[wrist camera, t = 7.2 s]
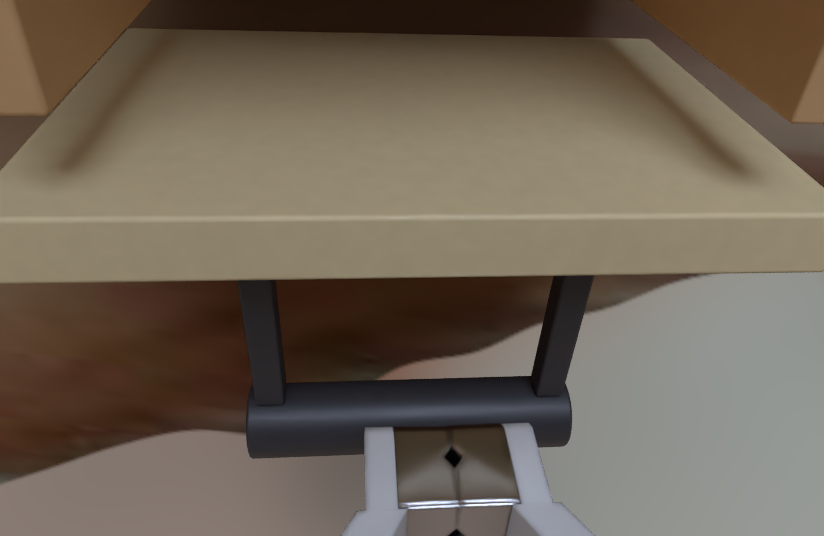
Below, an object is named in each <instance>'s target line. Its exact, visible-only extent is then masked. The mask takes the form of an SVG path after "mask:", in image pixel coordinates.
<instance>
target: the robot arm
mask: <svg viewBox="0 0 824 536" xmlns="http://www.w3.org/2000/svg"><path fill="white" fill-rule="evenodd" d="M364 455H365V510H361V511H356V513H355V514H354V516H353V518H352V519H351V520H350V522H349V523H348V525H347V526H346V528H345V530H344V531H343V533H342V534H341V536H595V535H594V534H593V533H592V532H591V531H590V530H589V529H588V528H587V527H586V526H585V525H584V524H583V523H582V522H581V521H580V520H579V519H578V518H577V517H576V516H575V515H574V514H573V513H571V511H570V510H569V509H568V508H566V506H565V505H563V504H562V503H553V499H552V496H551V492H550V489H549V485H548V482H547V478H546V474H545V471H544V467H543V464H542V460H541V457H540V453H539V449H538V446H537V442H536V438H535V435H534V431H533V428H532V426H531V425H530V424H529V423H505V424H500V423H488V424H466V425H447V426H443V427H365V433H364Z"/></svg>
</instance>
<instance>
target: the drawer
mask: <svg viewBox="0 0 824 536" xmlns="http://www.w3.org/2000/svg"><path fill="white" fill-rule="evenodd" d="M631 1H632V2H633V3H635V4H636V5H637V6H639V7H640V8H641V9H643V10H644V11H645V12H647V13H648V14H649V15H650V16H652V17H653V18H654V19H656V20H657V21H658V22H660V23H661V24H662V25H664V26H665V27H666V28H667V29H669V30H670V31H671V32H673V33H674V34H675V35H677V36H678V37H679V38H681V39H682V40H683V41H684V42H686V43H687V44H688V45H690V46H691V47H692V48H694V49H695V50H696V51H698V52H699V53H700V54H701V55H703V56H704V57H705V58H707V59H708V60H709V61H711V62H712V63H713V64H715V65H716V66H717V67H718V68H720V69H721V70H722V71H724V72H725V73H726V74H728V75H729V76H730V77H731V78H733V79H734V80H735V81H737V82H738V83H739V84H741V85H742V86H743V87H745V88H746V89H747V90H748V91H750V92H751V93H752V94H754V95H755V96H756V97H758V98H759V99H760V100H762V101H763V102H764V103H765V104H767V105H768V106H769V107H771V108H772V109H773V110H775V111H776V112H777V113H779V114H780V115H781V116H782V117H784V118H785V119H786V120H788V121H789V122H790V123H806V124H824V0H631ZM150 2H151V0H0V116H45V115H47V114H49V113H50V112H51V111H52V110H53V109H54V108H55V107H56V105H57V104H58V103H59V102H60V101H61V100H62V99H63V98H64V97H65V96H66V94H67V93H68V92H69V91H70V90H71V89H72V88H73V87H74V86H75V84H76V83H77V82H78V81H79V80H80V79H81V78H82V77H83V76H84V75H85V73H86V72H87V71H88V70H89V69H90V68H91V67H92V66H93V65H94V63H95V62H96V61H97V60H98V59H99V58H100V57H101V56H102V55H103V54H104V52H105V51H106V50H107V49H108V48H109V47H110V46H111V45H112V44H113V42H114V41H115V40H116V39H117V38H118V37H119V36H120V35H121V34H122V33H123V31H124V30H125V29H126V28H127V27H128V26H129V25H130V24H131V23H132V21H133V20H134V19H135V18H136V17H137V16H138V15H139V14H140V13H141V12H142V10H143V9H144V8H145V7H146V6H147V5H148V4H149V3H150ZM822 271H824V188H823V187H822V186H821V185H820V184H819V183H817V182H816V181H815V180H814V179H813V178H811V177H810V176H809V175H808V174H807V173H806V172H804V171H803V170H802V169H801V168H800V167H798V166H797V165H796V164H795V163H794V162H793V161H791V160H790V159H789V158H788V157H787V156H786V155H784V154H783V153H782V152H781V151H780V150H778V149H777V148H776V147H775V146H774V145H773V144H771V143H770V142H769V141H768V140H767V139H766V138H764V137H763V136H762V135H761V134H760V133H758V132H757V131H756V130H755V129H754V128H753V127H751V126H750V125H749V124H748V123H747V122H745V121H744V120H743V119H742V118H741V117H740V116H738V115H737V114H736V113H735V112H734V111H733V110H731V109H730V108H729V107H728V106H727V105H725V104H724V103H723V102H722V101H721V100H720V99H718V98H717V97H716V96H715V95H714V94H713V93H711V92H710V91H709V90H708V89H707V88H705V87H704V86H703V85H702V84H701V83H700V82H698V81H697V80H696V79H695V78H694V77H692V76H691V75H690V74H689V73H688V72H687V71H685V70H684V69H683V68H682V67H681V66H680V65H678V64H677V63H676V62H675V61H674V60H672V59H671V58H670V57H669V56H668V55H667V54H665V53H664V52H663V51H662V50H661V49H660V48H658V47H657V46H656V45H655V44H654V43H652V42H651V41H650V40H649V39H633V38H584V37H535V36H486V35H437V34H388V33H339V32H290V31H241V30H192V29H143V28H129V29H127V30H126V31H125V32H124V33H123V35H122V36H121V37H120V38H119V39H118V40H117V41H116V42H115V43H114V45H113V46H112V47H111V48H110V49H109V50H108V51H107V52H106V53H105V55H104V56H103V57H102V58H101V59H100V60H99V61H98V62H97V63H96V65H95V66H94V67H93V68H92V69H91V70H90V71H89V72H88V73H87V75H86V76H85V77H84V78H83V79H82V80H81V81H80V82H79V84H78V85H77V86H76V87H75V88H74V89H73V90H72V91H71V92H70V94H69V95H68V96H67V97H66V98H65V99H64V100H63V101H62V102H61V104H60V105H59V106H58V107H57V108H56V109H55V110H54V111H53V112H52V114H51V115H50V116H49V117H48V118H47V119H46V120H45V121H44V123H43V124H42V125H41V126H40V127H39V128H38V129H37V130H36V131H35V133H34V134H33V135H32V136H31V137H30V138H29V139H28V140H27V141H26V143H25V144H24V145H23V146H22V147H21V148H20V149H19V150H18V151H17V153H16V154H15V155H14V156H13V157H12V158H11V159H10V160H9V161H8V163H7V164H6V165H5V166H4V167H3V168H2V169H1V170H0V284H15V283H85V282H156V281H226V280H237V283H238V290H239V296H240V303H241V309H242V316H243V323H244V329H245V336H246V342H247V349H248V355H249V362H250V368H251V375H252V382H253V385H252V386H251V389H250V392H249V396H248V403H247V414H246V438H247V448H248V452H249V455H250V457H251V458H276V457H277V458H278V457H279V458H280V457H304V456H305V457H306V456H331V455H355V454H356V455H357V454H364V433H365V427H443V426H447V425H466V424H488V423H500V424H505V423H529V424H530V425H531V426H532V428H533V431H534V435H535V438H536V442H537V446H538V447H559V446H565V445H566V444H567V443H568V441H569V439H570V435H571V428H572V410H571V401H570V397H569V393H568V390H567V387H566V384H565V381H566V377H567V373H568V370H569V367H570V362H571V359H572V355H573V351H574V348H575V344H576V341H577V337H578V333H579V330H580V326H581V322H582V319H583V315H584V311H585V308H586V304H587V300H588V297H589V293H590V289H591V286H592V282H593V278H594V275H646V274H716V273H783V272H822ZM506 276H554V277H553V281H552V286H551V290H550V294H549V299H548V303H547V308H546V312H545V317H544V321H543V326H542V331H541V335H540V339H539V344H538V348H537V353H536V357H535V361H534V366H533V370H532V375H531V376H514V377H479V378H444V379H410V380H374V381H339V382H304V383H286V375H285V366H284V356H283V347H282V338H281V328H280V319H279V310H278V300H277V291H276V281H275V280H296V279H366V278H436V277H506Z"/></svg>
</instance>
